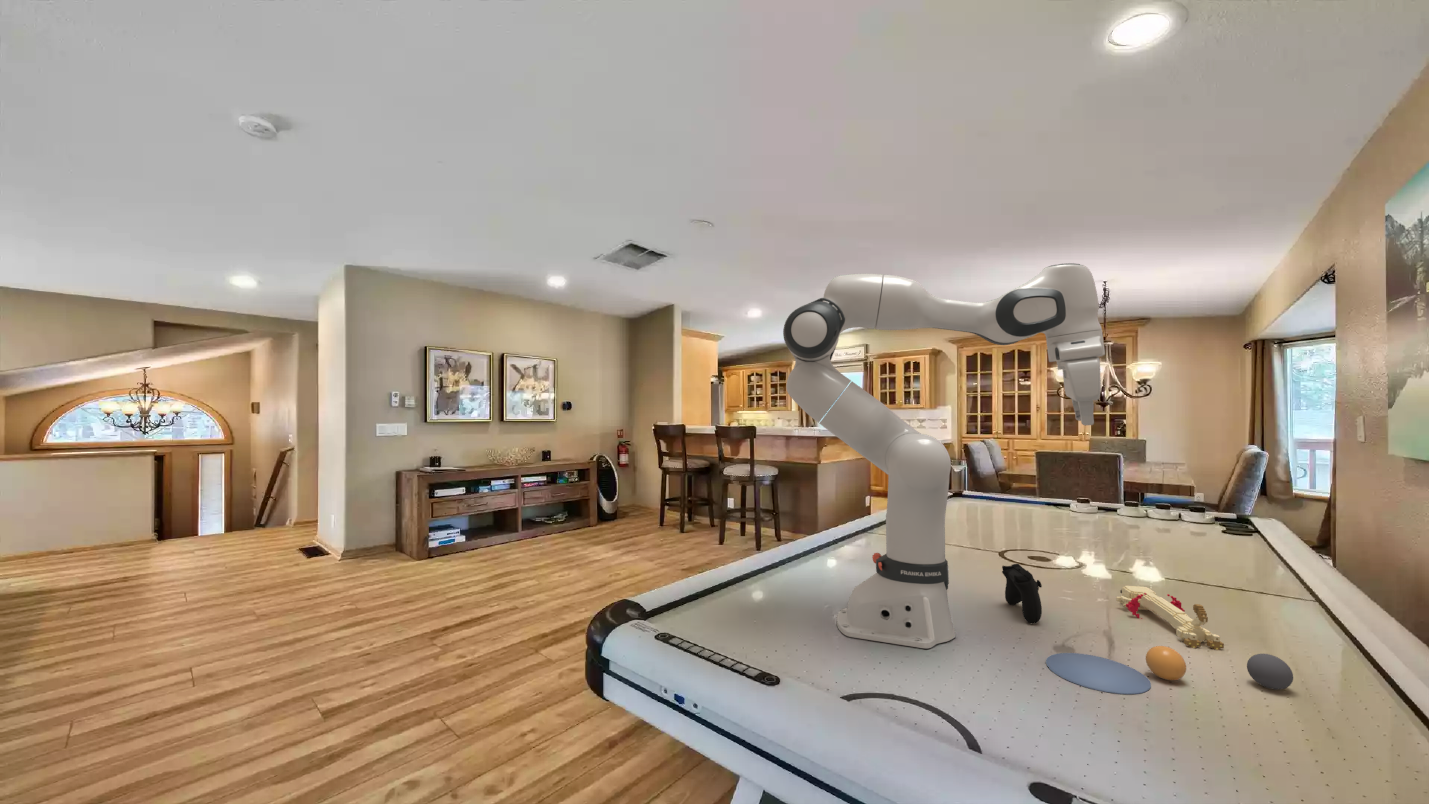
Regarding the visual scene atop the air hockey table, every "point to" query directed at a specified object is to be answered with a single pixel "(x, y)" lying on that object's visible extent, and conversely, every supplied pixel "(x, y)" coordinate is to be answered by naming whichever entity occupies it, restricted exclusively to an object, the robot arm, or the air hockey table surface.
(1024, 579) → the gaming controller
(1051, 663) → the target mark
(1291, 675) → the dark grey ball
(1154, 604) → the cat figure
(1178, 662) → the object ball
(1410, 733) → the air hockey table surface
